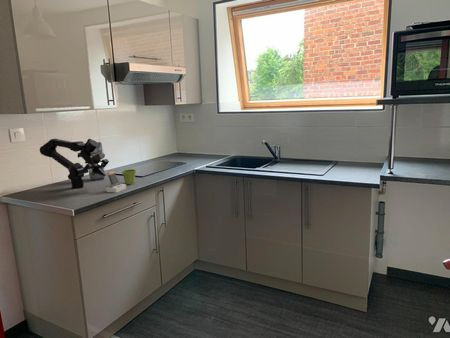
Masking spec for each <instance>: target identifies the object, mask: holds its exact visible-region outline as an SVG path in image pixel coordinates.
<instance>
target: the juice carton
mask: <svg viewBox="0 0 450 338" xmlns="http://www.w3.org/2000/svg"><path fill="white" fill-rule="evenodd" d="M96 142H97V143H98V146H97V148H96V149H95V150H94V152H90V153H91V154H92V155H97V154H99V153H100V152H103V151H104V149H103V145H102V142H101V141H99V142H98V141H96ZM103 153H104V152H103ZM104 159H105V158H102V159H100V160H101V161H102V160H104ZM101 161H100V162H101ZM100 162H99V163H100ZM103 169H104V171H105V172H106V170H105V169H106V167H104V168H103ZM92 171H93V170H92V169H88V176H89V178H90V180H91V181H102V180H104V179H105V177H106V176H102V175H100V174H97V173H94V172H92Z"/></svg>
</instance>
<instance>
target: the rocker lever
mask: <svg viewBox="0 0 450 338" xmlns="http://www.w3.org/2000/svg"><path fill="white" fill-rule="evenodd" d="M106 176H108V177H107V178H108V179H109V182H110V185H111V184H112V185H113V186H115V185H118V184H119V183H118V182H119V180H118V178H117V175H116V171H115V170H114V171H110V172H108V173H106Z"/></svg>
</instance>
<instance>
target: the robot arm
mask: <svg viewBox="0 0 450 338" xmlns="http://www.w3.org/2000/svg"><path fill="white" fill-rule="evenodd" d="M97 142H98V141H96V140H94V139H92V138H88V139H87V140H86V142H84V141H80V140H79V141H78V140H77V141H68V140H63V139H58V138H52V139H50V140H48V141H47V142H45V143H44V144H43V145H42V146H40V147H39V153H40V155H42V156H45V157H47V158H50V159H51V158H52V159H53V160H54V161H55V162H57V163H59V164H60V165H61V166H63V167H64V168H66V169H67V170H68V173H69V174H68V175H67V179H68V180H70V181H71V190H72V189H73V190H75V189H81V188H84V186H85V185H84V179H83V178H84V177H85V174H89V170H88V169H92V170H93V171H92V172H94V173H97V174H100V175H102V176H105V177H106V176H107V173H106V170H105V171H104V169H103V168H106V166H107V165H108V163H110V161H109V159H108V158H105V156H106V154H105V152H100V153H99V154H97V155H92V154H91V153H90V152H94V150H95V149H96V148H97V146H98V143H97ZM57 147H60V148H66V149H68V150H71V151H72V152H78V153H77V158H82V159H83V161H84V164H85V165H83V164H81V163H80V162H76V163H73V162H72V161H71V160H69V159H68V158H66V157H65V156H64V155H62V154H60V153H59V152H58V151H57ZM102 158H104V160H102V161H101V160H100V159H102ZM100 161H101V162H100ZM99 162H100V163H99Z"/></svg>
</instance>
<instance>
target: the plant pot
mask: <svg viewBox="0 0 450 338" xmlns="http://www.w3.org/2000/svg"><path fill="white" fill-rule="evenodd" d="M136 172H137V170H136V169H124V170H121V173H122V177H123V180H124V184H126V185H134V184H135V183H136Z"/></svg>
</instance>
